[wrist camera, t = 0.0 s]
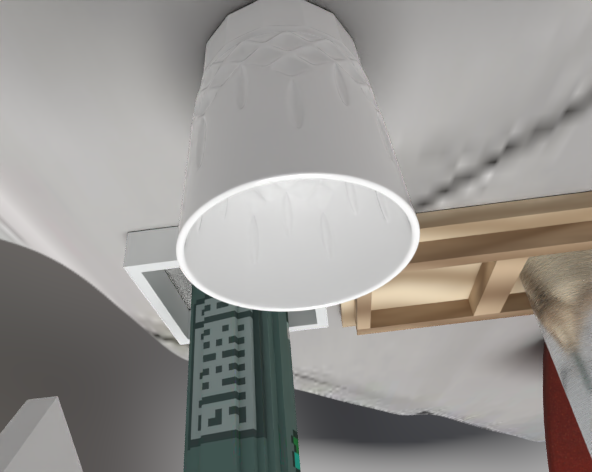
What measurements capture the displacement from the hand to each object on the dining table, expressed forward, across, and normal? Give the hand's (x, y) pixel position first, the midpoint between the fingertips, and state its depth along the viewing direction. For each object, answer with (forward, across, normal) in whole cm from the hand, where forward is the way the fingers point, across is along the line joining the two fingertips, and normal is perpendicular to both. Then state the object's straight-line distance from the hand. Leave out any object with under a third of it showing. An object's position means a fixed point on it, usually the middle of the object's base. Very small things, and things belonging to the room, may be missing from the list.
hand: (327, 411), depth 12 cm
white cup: (+13, 0, +8) cm, 16 cm away
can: (+23, -5, -5) cm, 24 cm away
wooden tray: (+24, +13, -7) cm, 28 cm away
